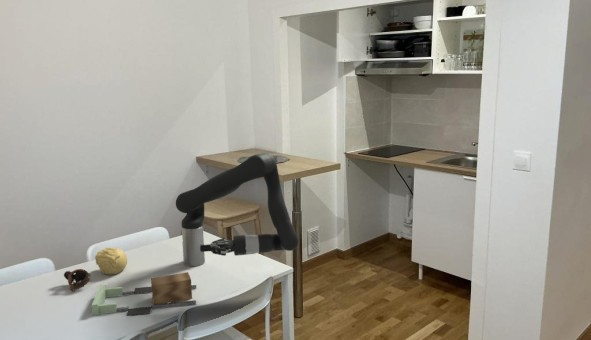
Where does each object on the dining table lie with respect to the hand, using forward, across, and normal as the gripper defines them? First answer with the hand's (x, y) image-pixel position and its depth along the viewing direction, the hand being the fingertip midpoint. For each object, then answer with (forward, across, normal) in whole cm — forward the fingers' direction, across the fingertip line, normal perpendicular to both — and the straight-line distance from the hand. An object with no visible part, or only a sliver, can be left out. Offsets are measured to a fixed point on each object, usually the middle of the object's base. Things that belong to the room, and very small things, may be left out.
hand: (200, 248), depth 182 cm
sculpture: (+38, -30, +19) cm, 52 cm away
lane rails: (+17, 0, +19) cm, 25 cm away
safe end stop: (+35, 0, +19) cm, 39 cm away
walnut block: (+12, 0, +19) cm, 22 cm away
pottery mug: (+50, -18, +19) cm, 56 cm away
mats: (+23, 0, +19) cm, 29 cm away
